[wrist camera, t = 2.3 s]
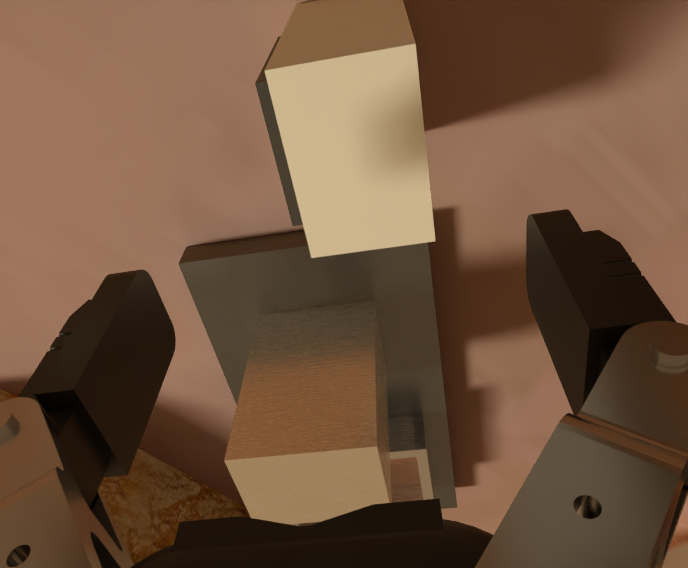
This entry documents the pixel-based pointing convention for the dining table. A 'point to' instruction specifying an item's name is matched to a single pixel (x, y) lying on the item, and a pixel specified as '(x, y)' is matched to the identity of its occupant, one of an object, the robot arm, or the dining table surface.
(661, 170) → the dining table surface
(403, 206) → the beige block
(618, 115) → the dining table surface
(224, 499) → the bread
